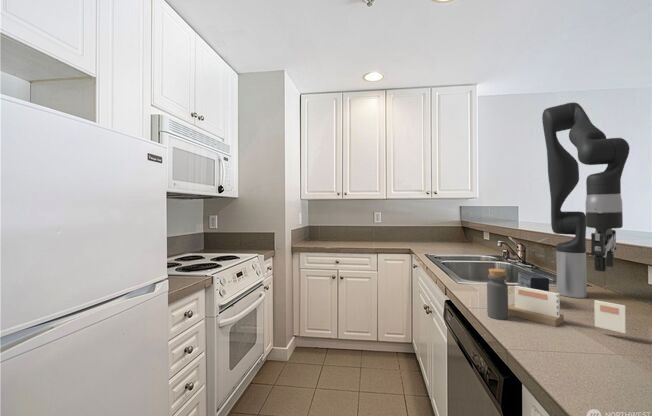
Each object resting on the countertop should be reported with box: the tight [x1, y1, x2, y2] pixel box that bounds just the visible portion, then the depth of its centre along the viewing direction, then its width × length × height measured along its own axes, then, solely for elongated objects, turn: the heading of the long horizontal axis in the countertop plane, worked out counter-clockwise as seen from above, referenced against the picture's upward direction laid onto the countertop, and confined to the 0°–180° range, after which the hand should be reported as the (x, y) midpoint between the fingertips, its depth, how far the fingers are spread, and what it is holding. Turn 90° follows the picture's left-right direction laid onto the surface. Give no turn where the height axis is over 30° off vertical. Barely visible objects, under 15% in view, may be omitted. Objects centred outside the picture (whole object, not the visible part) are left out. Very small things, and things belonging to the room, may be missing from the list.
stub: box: [593, 299, 627, 334], centre depth 80 cm, size 6×1×7 cm, turn 35°
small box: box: [517, 271, 550, 292], centre depth 110 cm, size 11×6×10 cm, turn 168°
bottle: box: [486, 268, 509, 321], centre depth 96 cm, size 6×6×15 cm
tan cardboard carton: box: [508, 285, 565, 327], centre depth 95 cm, size 14×7×9 cm, turn 35°
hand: (604, 268), depth 83 cm, fingers open, 8 cm apart
